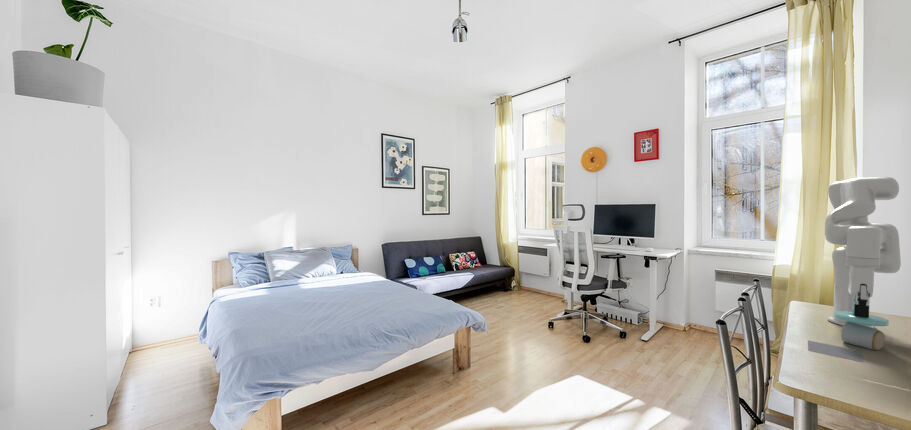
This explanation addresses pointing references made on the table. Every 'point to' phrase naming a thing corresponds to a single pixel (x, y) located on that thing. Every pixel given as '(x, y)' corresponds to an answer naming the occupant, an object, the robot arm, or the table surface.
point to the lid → (861, 318)
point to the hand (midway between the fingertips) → (860, 314)
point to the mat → (835, 351)
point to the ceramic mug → (862, 336)
